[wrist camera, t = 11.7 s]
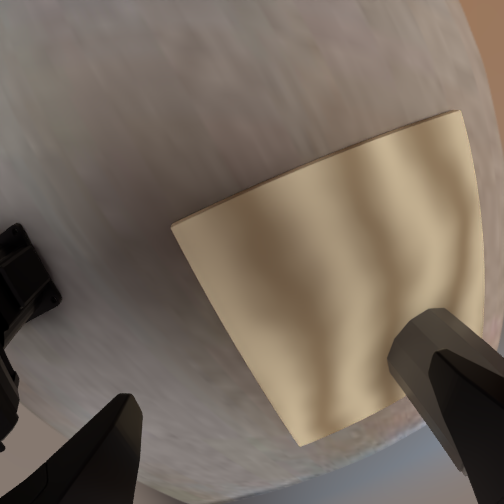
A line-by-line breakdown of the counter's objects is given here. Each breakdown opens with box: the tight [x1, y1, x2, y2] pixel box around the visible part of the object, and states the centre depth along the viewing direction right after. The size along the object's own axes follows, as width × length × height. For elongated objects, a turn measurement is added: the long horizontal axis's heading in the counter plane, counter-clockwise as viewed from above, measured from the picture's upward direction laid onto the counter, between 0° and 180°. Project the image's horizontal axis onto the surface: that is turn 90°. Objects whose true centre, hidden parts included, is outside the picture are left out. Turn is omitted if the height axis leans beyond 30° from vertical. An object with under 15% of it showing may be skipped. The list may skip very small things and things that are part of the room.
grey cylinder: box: [387, 308, 504, 476], centre depth 18 cm, size 7×7×12 cm
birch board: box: [171, 110, 485, 447], centre depth 22 cm, size 22×24×1 cm
